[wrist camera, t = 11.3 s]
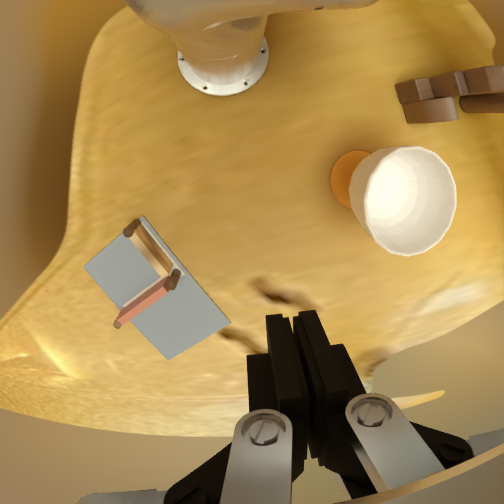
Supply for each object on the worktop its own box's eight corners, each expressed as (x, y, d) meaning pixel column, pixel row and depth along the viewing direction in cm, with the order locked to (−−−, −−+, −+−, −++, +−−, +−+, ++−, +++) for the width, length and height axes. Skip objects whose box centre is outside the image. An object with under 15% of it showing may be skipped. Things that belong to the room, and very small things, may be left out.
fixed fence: (131, 223, 46) (121, 231, 42) (137, 217, 46) (128, 225, 42) (176, 278, 50) (170, 292, 45) (182, 274, 49) (178, 287, 45)
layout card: (84, 266, 49) (83, 267, 48) (143, 215, 46) (142, 216, 46) (168, 359, 55) (168, 360, 55) (230, 321, 53) (230, 323, 53)
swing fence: (168, 275, 49) (162, 287, 45) (172, 281, 49) (167, 293, 45) (120, 311, 51) (112, 324, 47) (124, 316, 51) (117, 329, 47)
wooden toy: (405, 125, 43) (524, 130, 20) (394, 84, 41) (507, 59, 18) (473, 111, 42) (585, 117, 19) (464, 75, 40) (574, 63, 16)
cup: (403, 163, 45) (471, 178, 29) (373, 229, 49) (428, 272, 33) (340, 127, 43) (392, 123, 27) (307, 199, 47) (344, 232, 31)
